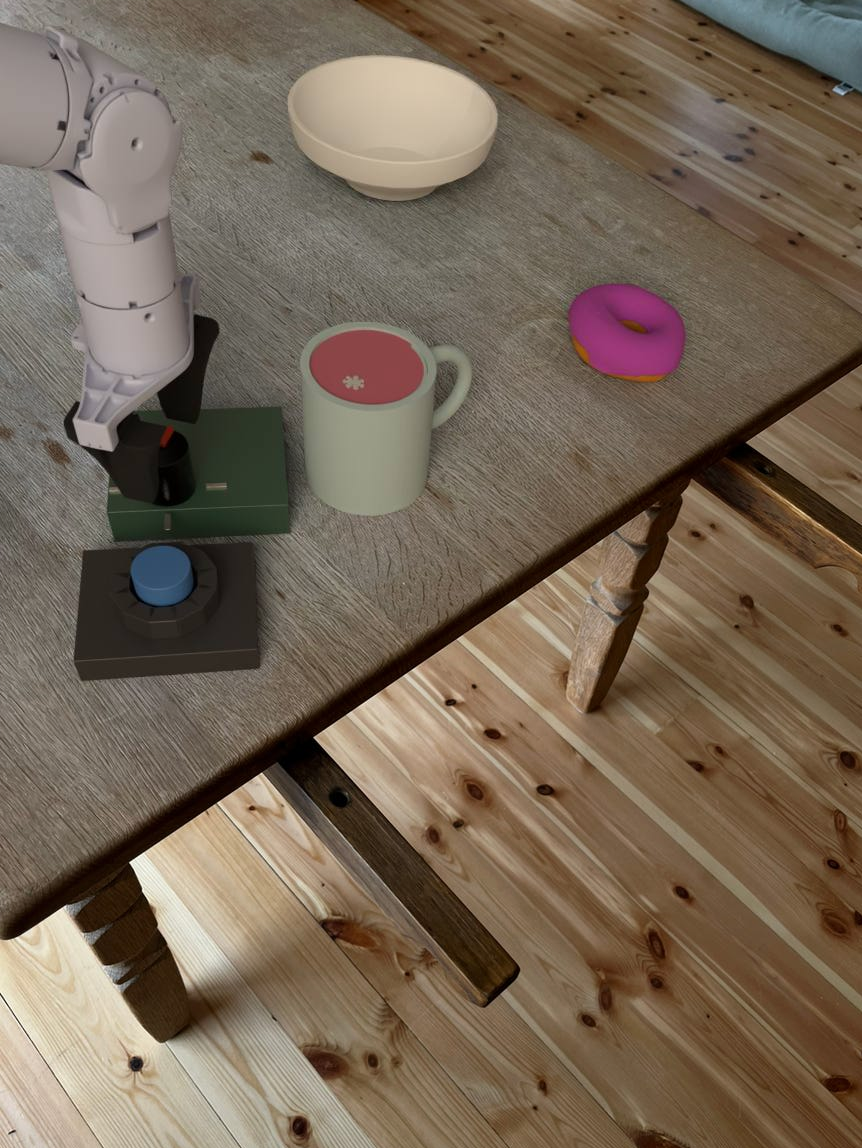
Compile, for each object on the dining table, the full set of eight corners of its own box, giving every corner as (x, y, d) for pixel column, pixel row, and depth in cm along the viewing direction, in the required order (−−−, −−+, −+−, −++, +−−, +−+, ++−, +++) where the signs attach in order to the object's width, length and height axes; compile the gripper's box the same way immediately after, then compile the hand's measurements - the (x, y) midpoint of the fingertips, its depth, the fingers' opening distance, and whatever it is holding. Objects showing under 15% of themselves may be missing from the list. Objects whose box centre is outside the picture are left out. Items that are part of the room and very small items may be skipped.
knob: (184, 511, 70) (176, 468, 67) (132, 500, 70) (122, 456, 67) (203, 475, 72) (196, 431, 69) (153, 464, 73) (143, 420, 69)
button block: (80, 681, 65) (66, 644, 62) (89, 571, 70) (77, 531, 67) (259, 669, 67) (255, 632, 64) (255, 562, 72) (251, 523, 69)
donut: (674, 402, 87) (689, 358, 83) (554, 379, 87) (563, 334, 83) (681, 327, 93) (694, 283, 89) (569, 306, 93) (578, 261, 89)
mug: (347, 533, 75) (347, 428, 67) (282, 454, 79) (274, 346, 71) (499, 465, 80) (516, 361, 72) (431, 394, 84) (440, 288, 76)
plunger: (134, 608, 64) (129, 591, 63) (136, 564, 67) (131, 546, 65) (193, 605, 65) (190, 587, 64) (194, 561, 67) (190, 543, 66)
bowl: (253, 153, 102) (247, 80, 97) (416, 109, 111) (420, 39, 105) (361, 258, 94) (362, 183, 88) (530, 202, 102) (540, 130, 97)
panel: (113, 563, 71) (104, 532, 68) (121, 441, 78) (113, 409, 75) (291, 554, 73) (289, 523, 70) (284, 436, 80) (281, 404, 77)
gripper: (109, 196, 63) (145, 375, 73) (-3, 343, 54) (57, 521, 65) (222, 219, 62) (242, 395, 73) (129, 371, 54) (166, 545, 65)
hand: (162, 456), depth 69 cm, fingers open, 7 cm apart
